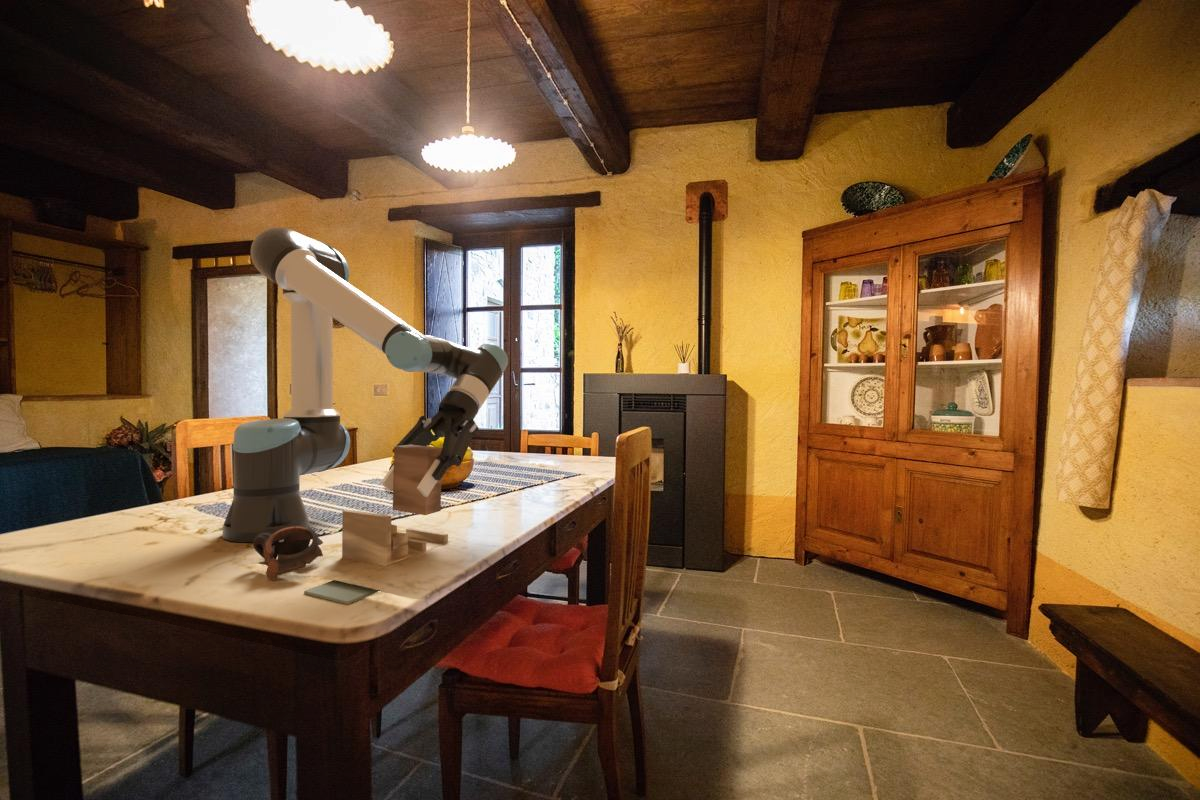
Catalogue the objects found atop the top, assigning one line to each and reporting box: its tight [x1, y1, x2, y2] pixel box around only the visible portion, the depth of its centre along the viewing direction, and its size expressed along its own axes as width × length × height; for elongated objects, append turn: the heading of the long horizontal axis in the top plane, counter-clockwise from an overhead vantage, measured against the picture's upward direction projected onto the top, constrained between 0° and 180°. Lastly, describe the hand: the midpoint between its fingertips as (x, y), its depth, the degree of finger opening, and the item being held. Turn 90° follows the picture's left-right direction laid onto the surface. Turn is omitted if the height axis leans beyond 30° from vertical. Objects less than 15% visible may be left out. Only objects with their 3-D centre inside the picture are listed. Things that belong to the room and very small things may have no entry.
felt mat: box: [304, 579, 381, 605], centre depth 79 cm, size 9×9×1 cm
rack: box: [341, 509, 452, 567], centre depth 95 cm, size 16×10×9 cm, turn 156°
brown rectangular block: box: [392, 445, 442, 516], centre depth 99 cm, size 4×8×12 cm, turn 66°
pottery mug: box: [252, 526, 324, 581], centre depth 86 cm, size 12×10×8 cm
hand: (403, 489), depth 95 cm, fingers closed on brown rectangular block, 8 cm apart
